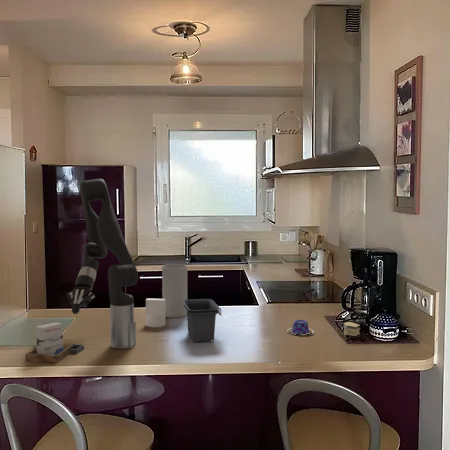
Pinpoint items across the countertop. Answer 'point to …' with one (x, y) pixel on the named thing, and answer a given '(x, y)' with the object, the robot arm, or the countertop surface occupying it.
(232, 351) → the countertop surface
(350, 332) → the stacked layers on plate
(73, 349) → the trap pits
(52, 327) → the ink box
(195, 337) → the storage bin
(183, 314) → the cylinder vase
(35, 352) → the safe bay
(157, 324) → the cylinder with rectangular tab
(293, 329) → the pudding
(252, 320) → the countertop surface
